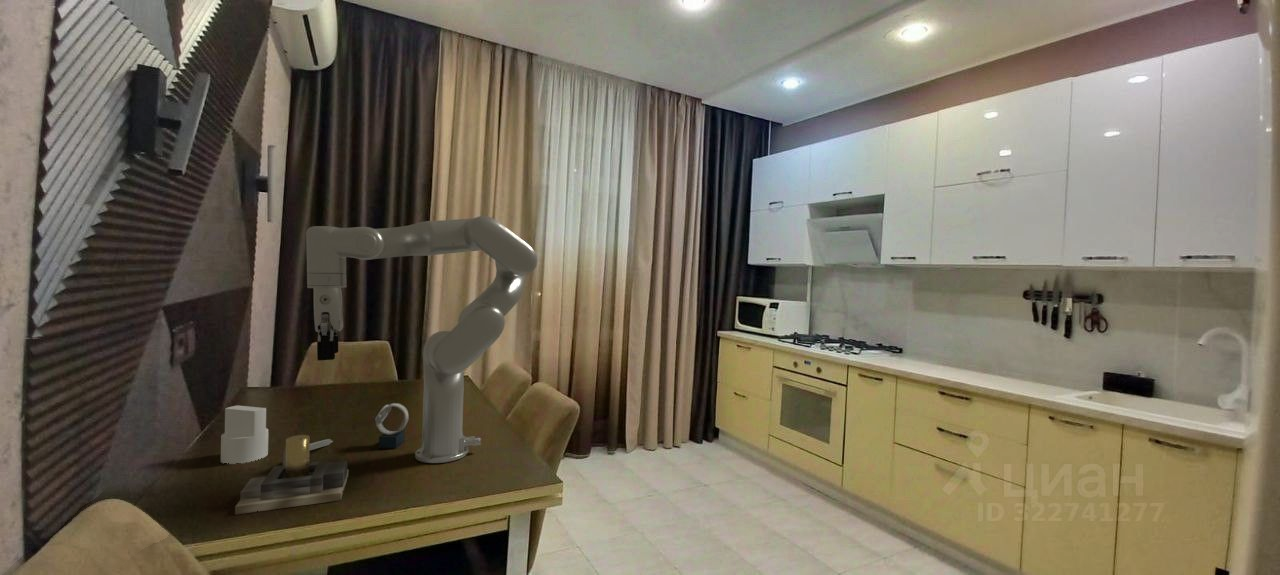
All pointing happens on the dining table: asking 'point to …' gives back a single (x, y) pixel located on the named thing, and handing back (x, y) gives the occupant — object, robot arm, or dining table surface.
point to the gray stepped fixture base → (294, 488)
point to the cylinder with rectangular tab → (244, 435)
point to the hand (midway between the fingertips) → (328, 356)
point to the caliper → (312, 447)
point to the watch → (391, 436)
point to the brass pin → (297, 456)
